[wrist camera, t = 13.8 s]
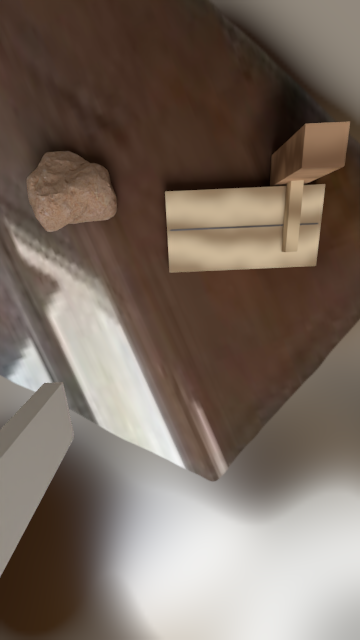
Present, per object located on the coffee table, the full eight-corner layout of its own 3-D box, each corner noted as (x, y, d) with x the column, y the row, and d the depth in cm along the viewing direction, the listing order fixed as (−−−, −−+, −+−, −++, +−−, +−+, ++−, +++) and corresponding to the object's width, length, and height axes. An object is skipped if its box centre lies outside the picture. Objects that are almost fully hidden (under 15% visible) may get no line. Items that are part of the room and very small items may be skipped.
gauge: (271, 151, 38) (306, 118, 28) (304, 150, 38) (350, 116, 28) (266, 251, 42) (294, 254, 32) (295, 250, 42) (332, 252, 32)
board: (165, 194, 39) (165, 191, 37) (316, 187, 39) (325, 183, 37) (169, 270, 43) (169, 272, 41) (308, 264, 43) (316, 265, 40)
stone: (48, 219, 42) (41, 249, 36) (13, 158, 36) (-4, 180, 29) (118, 201, 43) (125, 226, 37) (97, 137, 36) (101, 154, 30)
